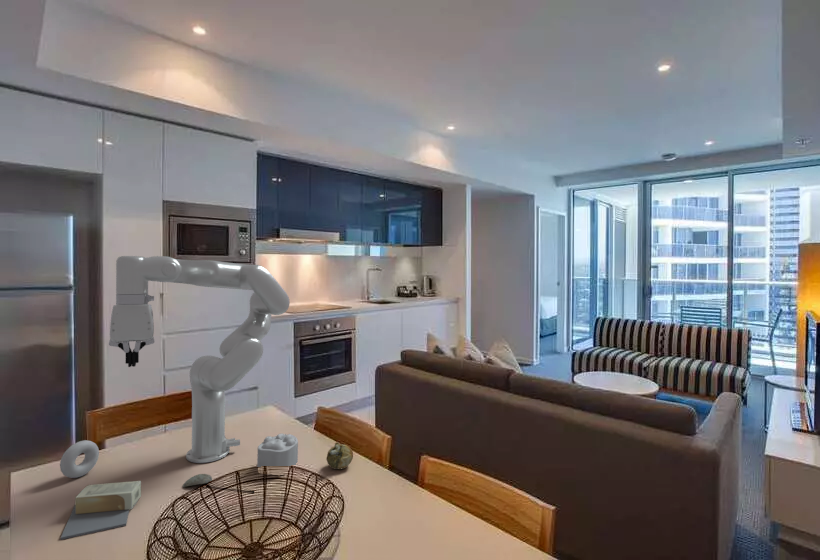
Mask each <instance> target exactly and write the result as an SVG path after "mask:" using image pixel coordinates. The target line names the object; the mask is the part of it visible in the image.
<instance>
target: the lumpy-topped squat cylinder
mask: <svg viewBox="0 0 820 560" xmlns="http://www.w3.org/2000/svg"><path fill="white" fill-rule="evenodd" d="M256 455H257V459H256V460H257V462H256V463H257V464H256V466H257V467H261V466H291V465H296V463H297V462H298V460H299V459H298V458H299V456H298V455H299V440H298V438H297V436H295V435H293V434H290V433H289V434H287V433H278V434H276V435H275V436H271V435H270V436H269V435H268V436H266V437H265V438H264V439H263V442H261V443H260V444H259V445H258V446H257V454H256ZM257 467H256V468H257Z"/></svg>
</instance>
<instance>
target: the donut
mask: <svg viewBox="0 0 820 560" xmlns="http://www.w3.org/2000/svg"><path fill="white" fill-rule="evenodd" d="M81 454H84V459H83V460H82V461H81V462H80V463H79V464H76V461H77V458H78V457H79V456H80V455H81ZM99 456H100V450H99V447H98V445H97V443H95V442H93V441H91V440H86V439H84V440H80V441H76V442H75V443H73V444H72V445H70V447H68V448H67V449H66V451H64V453H63V455H62V456H61V458H60V461H59V462H60V463H59V468H60V472H61V473H62V475H63V476H65V477H66V478H71V479H77V478H80V477H83V476H85V475H86V474H88V473H90V472H91V470H92V469H94V467H95V466H96V464H97V462H98V460H99Z"/></svg>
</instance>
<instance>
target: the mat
mask: <svg viewBox="0 0 820 560" xmlns="http://www.w3.org/2000/svg"><path fill="white" fill-rule="evenodd" d="M129 513H130V509H128V510H117V511H106V512H95V513H84V514H76V508H75V505H74V506H73V509H72V511H71V513H70V515H69V517H68V520H67V523H66V525H65V527H64V529H63V531H62V533H61V536H60V541H63V540H65V539H67V540H68V539H72V538H75V537H79V536H80V537H81V536H84V535H85V536H86V535H90V534H93V533H99V532H102V531H103V532H104V531H108V530H114V529H117V528H121V527H126V526H127V524H128V523H127V522H128V518H129Z"/></svg>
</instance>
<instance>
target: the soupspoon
mask: <svg viewBox="0 0 820 560" xmlns="http://www.w3.org/2000/svg"><path fill="white" fill-rule="evenodd" d="M212 480H213V477H212V475H210V474H207V473H199V474H196V475H193V476H192V477H189V478H188V479H187V480H186V481H184V483H183V484H182V488H186V487H190V486H196V485H203V484H209V483H208V482H210V481H212Z"/></svg>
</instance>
